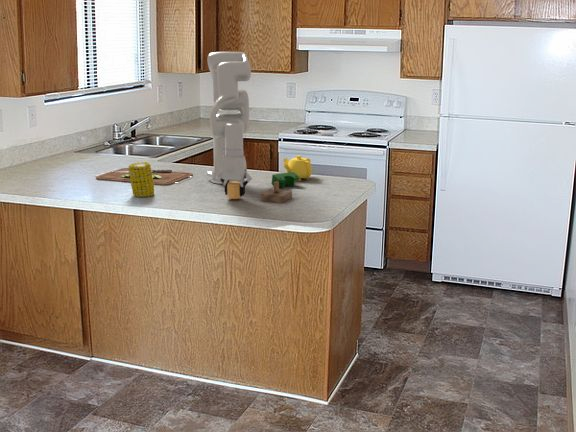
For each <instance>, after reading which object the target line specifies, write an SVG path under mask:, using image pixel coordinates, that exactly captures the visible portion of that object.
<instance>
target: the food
mask: <svg viewBox="0 0 576 432" xmlns="http://www.w3.org/2000/svg"><path fill="white" fill-rule="evenodd" d="M128 168H129V173H130V181H131V183H130V186H131V189H132V190H131V192H132V195H133V196H134V197H137V198H143V197H144V198H146V197H153V196H155V185H154V183H153V178H152V171H151V170H152V167H151V164H150V163H149V162H146V161H141V162H133V163H131V164H129V165H128Z"/></svg>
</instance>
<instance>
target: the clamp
mask: <svg viewBox="0 0 576 432" xmlns="http://www.w3.org/2000/svg"><path fill="white" fill-rule="evenodd" d="M297 180H299V176H298V175H297V174H295V173H294V172H289V173H286V172H282V173H276V174H272V177H271V184H270V185H272V187H274V182H275V181H278V182H279V188H280V186H281V188H282V189H285V187H287V186H286V185H288V186H290V187H292V188H294V187H295V183H296V181H297ZM297 182H298V181H297Z"/></svg>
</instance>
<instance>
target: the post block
mask: <svg viewBox="0 0 576 432" xmlns="http://www.w3.org/2000/svg"><path fill="white" fill-rule="evenodd" d="M292 198H293V191H292V190H286V189H280V187H279V182H278V181H275V182H274V186H273V188H269V189H268V190H265V191H264V192H262V193H260V202H270V203H277V204H278V203H280V204H284V203H286V202H288V201H289V200H291V199H292Z"/></svg>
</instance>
